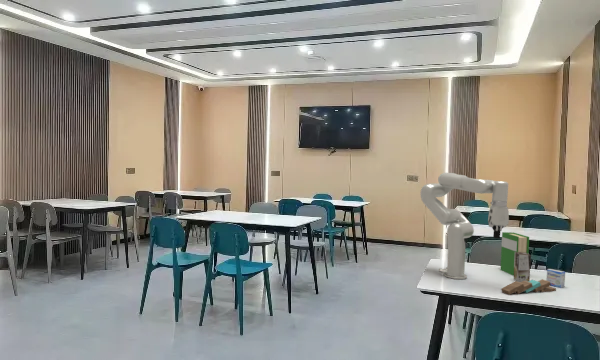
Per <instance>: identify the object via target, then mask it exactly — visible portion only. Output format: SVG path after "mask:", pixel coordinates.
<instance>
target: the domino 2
mask: <svg viewBox="0 0 600 360" xmlns="http://www.w3.org/2000/svg"><path fill="white" fill-rule="evenodd" d="M520 283H523V284H524V288H522V289H520V290H518V291H516V292H514V293H513V294H516V295H519V294H521V293H524V292H523V291H525V290H527V289H529V288H531V287H533V286H532V283H530V282H527V281H522V282H520Z"/></svg>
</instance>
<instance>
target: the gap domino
mask: <svg viewBox="0 0 600 360" xmlns="http://www.w3.org/2000/svg"><path fill="white" fill-rule="evenodd" d="M538 281H539V280H536V279H535V280H534V279H531V280H530V281H529V282H530V283H532V286H533V287H531V288H529V289H527V290H525V291H523V292H522V293H526V294H528V293H529V292H533V291H532V290H534V289H536V288H537V287H539V286H541V284H540V282H538Z"/></svg>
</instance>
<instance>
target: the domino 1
mask: <svg viewBox="0 0 600 360" xmlns="http://www.w3.org/2000/svg"><path fill="white" fill-rule="evenodd" d="M522 288H524V284H523V283H520V282H517V281H515V280H514V281H513V282H511V283H509V284H507V285H505V286H504V287H501V288H500V290H501V293H502V294H507V295H509V296H510V295H512V294H515V293H514V292H516V291H518V290H520V289H522Z"/></svg>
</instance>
